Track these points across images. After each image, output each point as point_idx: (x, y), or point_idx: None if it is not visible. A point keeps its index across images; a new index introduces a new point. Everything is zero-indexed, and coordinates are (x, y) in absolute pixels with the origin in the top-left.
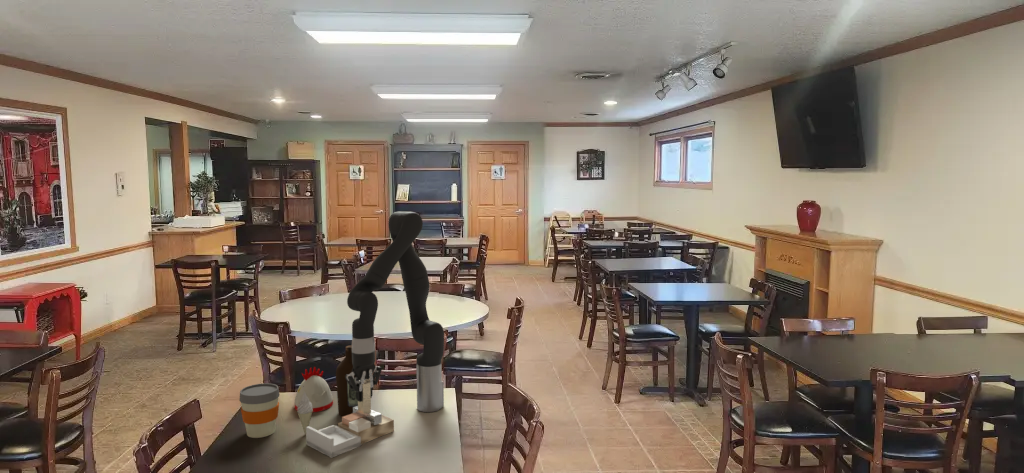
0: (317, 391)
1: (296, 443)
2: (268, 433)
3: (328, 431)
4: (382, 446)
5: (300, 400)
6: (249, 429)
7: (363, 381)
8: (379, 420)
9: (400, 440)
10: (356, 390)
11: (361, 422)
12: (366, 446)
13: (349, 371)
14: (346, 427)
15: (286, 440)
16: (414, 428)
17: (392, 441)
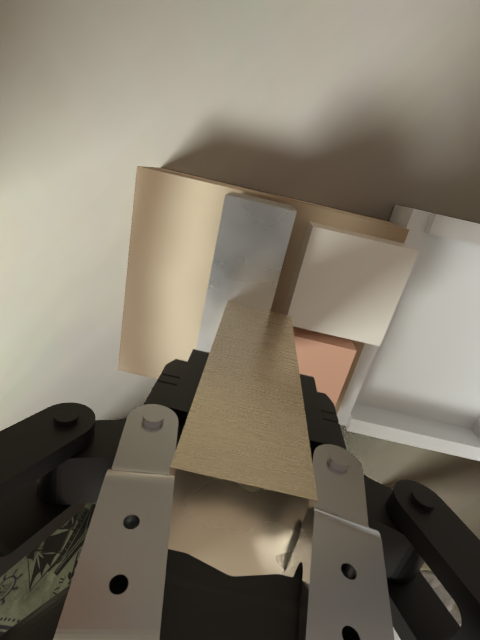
0: None
1: (467, 468)
2: None
3: (383, 415)
4: (354, 81)
5: None
6: None
7: (330, 549)
8: (249, 196)
9: (236, 32)
10: (409, 482)
11: (349, 275)
12: (388, 172)
13: None
14: (360, 351)
15: (453, 511)
16: (62, 77)
17: (271, 73)
